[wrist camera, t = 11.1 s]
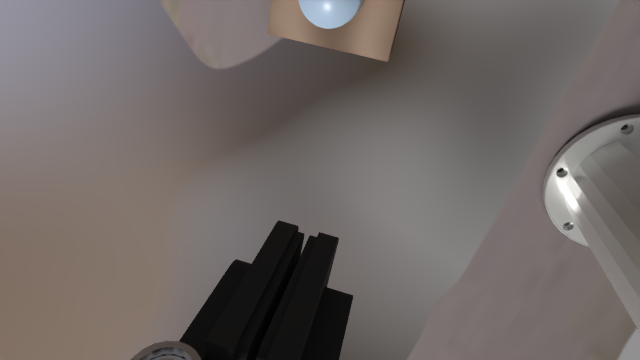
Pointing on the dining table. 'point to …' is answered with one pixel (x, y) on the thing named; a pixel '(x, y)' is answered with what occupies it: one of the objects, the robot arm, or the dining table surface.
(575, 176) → the robot arm
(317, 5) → the slate blue button
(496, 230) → the dining table surface
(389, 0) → the button panel
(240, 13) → the dining table surface
